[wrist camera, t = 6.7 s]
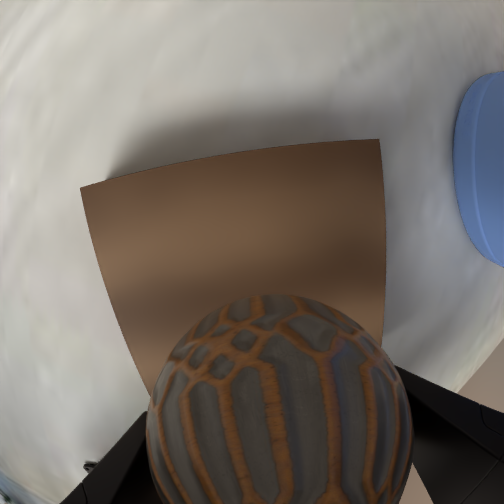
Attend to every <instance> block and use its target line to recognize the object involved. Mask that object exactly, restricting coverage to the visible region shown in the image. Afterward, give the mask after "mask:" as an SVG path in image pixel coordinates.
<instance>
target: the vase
mask: <svg viewBox="0 0 504 504" xmlns="http://www.w3.org/2000/svg"><path fill="white" fill-rule="evenodd" d="M146 448H147V455H148V462H149V467H150V471H151V475H152V479H153V482H154V484H155V487H156V490H157V493H158V494H159V496H160V498H161V500H162V502H163V504H399V501H400V499H401V496H402V494H403V491H404V488H405V485H406V482H407V479H408V476H409V472H410V469H411V465H412V460H413V453H414V427H413V418H412V413H411V408H410V404H409V400H408V397H407V393H406V390H405V387H404V385H403V382H402V380H401V378H400V375H399V373H398V371H397V370H396V368H395V366H394V365H393V363H392V362H391V360H390V358H389V357H388V356H387V354H386V353H385V352H384V350H383V349H382V348H381V346H380V345H379V344H378V343H377V342H376V341H375V339H374V338H373V337H372V336H371V335H370V334H369V333H368V332H367V331H366V330H365V329H364V328H363V327H362V326H361V325H359V324H358V323H357V322H355V321H354V320H353V319H351V318H350V317H348V316H347V315H345V314H344V313H342V312H340V311H339V310H337V309H335V308H332V307H330V306H328V305H326V304H324V303H321V302H319V301H316V300H313V299H309V298H305V297H300V296H294V295H285V294H266V295H258V296H252V297H247V298H244V299H240V300H237V301H234V302H232V303H229V304H227V305H225V306H223V307H221V308H219V309H217V310H215V311H213V312H212V313H210V314H208V315H207V316H205V317H204V318H203V319H201V320H200V321H199V322H198V323H196V324H195V325H194V326H193V327H192V328H191V329H190V330H189V331H188V332H187V333H186V334H185V335H184V336H183V337H182V338H181V339H180V340H179V342H178V343H177V344H176V346H175V347H174V348H173V350H172V351H171V352H170V354H169V355H168V357H167V359H166V360H165V362H164V364H163V367H162V369H161V371H160V373H159V375H158V377H157V380H156V383H155V386H154V389H153V392H152V395H151V398H150V402H149V407H148V412H147V419H146Z"/></svg>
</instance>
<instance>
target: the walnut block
mask: <svg viewBox="0 0 504 504" xmlns="http://www.w3.org/2000/svg"><path fill="white" fill-rule="evenodd" d="M80 191H81V196H82V201H83V206H84V210H85V214H86V219H87V223H88V227H89V231H90V235H91V239H92V243H93V246H94V250H95V254H96V257H97V261H98V264H99V267H100V271H101V274H102V277H103V280H104V284H105V287H106V290H107V293H108V296H109V299H110V301H111V304H112V307H113V310H114V313H115V315H116V318H117V321H118V324H119V326H120V329H121V331H122V334H123V336H124V339H125V341H126V344H127V346H128V349H129V351H130V353H131V356H132V358H133V360H134V363H135V365H136V367H137V369H138V372H139V374H140V376H141V378H142V380H143V382H144V385H145V387H146V389H147V391H148V393H149V395H150V397H151V395H152V392H153V389H154V386H155V383H156V380H157V377H158V375H159V373H160V371H161V369H162V367H163V364H164V362H165V360H166V359H167V357H168V355H169V354H170V352H171V351H172V350H173V348H174V347H175V346H176V344H177V343H178V342H179V340H180V339H181V338H182V337H183V336H184V335H185V334H186V333H187V332H188V331H189V330H190V329H191V328H192V327H193V326H194V325H195V324H196V323H198V322H199V321H200V320H201V319H203V318H204V317H205V316H207V315H208V314H210V313H212V312H213V311H215V310H217V309H219V308H221V307H223V306H225V305H227V304H229V303H232V302H234V301H237V300H240V299H244V298H247V297H252V296H258V295H266V294H285V295H294V296H300V297H305V298H309V299H313V300H316V301H319V302H321V303H324V304H326V305H328V306H330V307H332V308H335V309H337V310H339V311H340V312H342V313H344V314H345V315H347V316H348V317H350V318H351V319H353V320H354V321H355V322H357V323H358V324H359V325H361V326H362V327H363V328H364V329H365V330H366V331H367V332H368V333H369V334H370V335H371V336H372V337H373V338H374V339H375V341H376V342H377V343H378V344H379V345H380V346H381V344H382V333H383V321H384V306H385V285H386V218H385V197H384V182H383V170H382V160H381V150H380V142H379V139H367V140H348V141H333V142H320V143H309V144H299V145H289V146H281V147H272V148H265V149H257V150H250V151H243V152H237V153H230V154H224V155H218V156H213V157H207V158H201V159H196V160H191V161H186V162H181V163H176V164H171V165H167V166H162V167H158V168H153V169H149V170H145V171H140V172H136V173H132V174H128V175H124V176H120V177H117V178H113V179H109V180H105V181H102V182H98V183H95V184H91V185H88V186H84V187H81V188H80Z"/></svg>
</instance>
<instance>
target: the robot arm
mask: <svg viewBox="0 0 504 504" xmlns="http://www.w3.org/2000/svg"><path fill="white" fill-rule="evenodd" d="M394 366H395V368H396V370H397V371H398V373H399V375H400V378H401V380H402V382H403V385H404V387H405V390H406V393H407V397H408V400H409V404H410V408H411V413H412V418H413V427H414V453H413V460H412V463H413V465H414V466H415V468H416V470H417V472H418V474H419V476H420V478H421V480H422V482H423V484H424V486H425V487H426V489H427V492H428V494H429V495H430V497H431V499H432V501H433V503H434V504H504V413H502V412H499V411H497V410H494V409H491V408H489V407H486V406H484V405H482V404H479V403H477V402H475V401H472V400H470V399H468V398H466V397H463V396H461V395H459V394H456V393H454V392H452V391H450V390H448V389H445V388H443V387H441V386H439V385H436V384H434V383H432V382H430V381H428V380H426V379H423V378H421V377H419V376H417V375H415V374H413V373H411V372H408V371H406V370H404V369H402V368H400V367H398V366H396V365H394ZM147 412H148V411H145V412H143V413H142V415H141V416H140V417H139V418H138V419H137V420H136V421H135V422H134V424H133V425H132V426H131V427H130V428H129V429H128V430H127V432H126V433H125V434H124V435H123V436H122V437H121V438H120V439H119V441H118V442H117V443H116V444H115V445H114V446H113V447H112V448H111V450H110V451H109V452H108V453H107V454H106V455H105V456H104V457H103V458H102V460H101V461H100V462H99V463H98V464H97V465H89V464H84V466H83V468H84V469H85V470H86V471H87V472H88V473H89V474H88V475H87V476H86V477H85V478H84V479H83V481H82V482H81V483H80V484H79V485H78V486H77V487H76V488H75V489H74V490H73V491H72V492H71V493H70V494H69V495H68V496H67V497H66V498H65V499H64V500H63V501H62V502H61V503H60V504H163V502H162V500H161V498H160V496H159V494H158V493H157V490H156V487H155V484H154V482H153V479H152V475H151V471H150V467H149V462H148V455H147V448H146V419H147Z"/></svg>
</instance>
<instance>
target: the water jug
mask: <svg viewBox="0 0 504 504" xmlns="http://www.w3.org/2000/svg"><path fill="white" fill-rule="evenodd" d="M453 167H454V181H455V189H456V195H457V201H458V206H459V210H460V213H461V217H462V220H463V223H464V226H465V228H466V231H467V233H468V235H469V237H470V239H471V241H472V242H473V244H474V245H475V247H476V248H477V249H478V251H479V252H480V253H481V254H482V255H483V256H484V257H486V258H487V259H488V260H490V261H492V262H494V263H496V264H498V265H500V266H502V267H504V71H502V72H496V73H490V74H486V75H484V76H482V77H480V78H479V79H477V80H476V81H475V82H474V83H473V84H472V85H471V86H470V88H469V89H468V91H467V93H466V94H465V96H464V98H463V101H462V103H461V106H460V109H459V113H458V117H457V121H456V127H455V134H454V147H453Z"/></svg>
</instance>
